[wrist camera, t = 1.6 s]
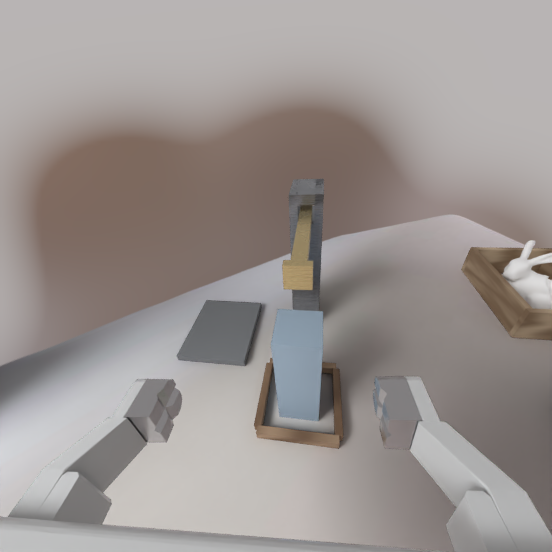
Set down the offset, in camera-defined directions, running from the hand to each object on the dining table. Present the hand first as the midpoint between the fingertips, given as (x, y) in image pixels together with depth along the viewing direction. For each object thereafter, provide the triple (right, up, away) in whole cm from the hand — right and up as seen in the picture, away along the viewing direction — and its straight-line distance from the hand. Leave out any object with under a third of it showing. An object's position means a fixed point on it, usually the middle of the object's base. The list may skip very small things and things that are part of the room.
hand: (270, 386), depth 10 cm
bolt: (+3, +8, +17) cm, 19 cm away
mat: (-8, -4, +31) cm, 33 cm away
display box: (+42, 0, +32) cm, 53 cm away
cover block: (+3, -11, +21) cm, 24 cm away
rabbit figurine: (+41, 0, +33) cm, 53 cm away
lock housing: (+6, -1, +34) cm, 35 cm away
